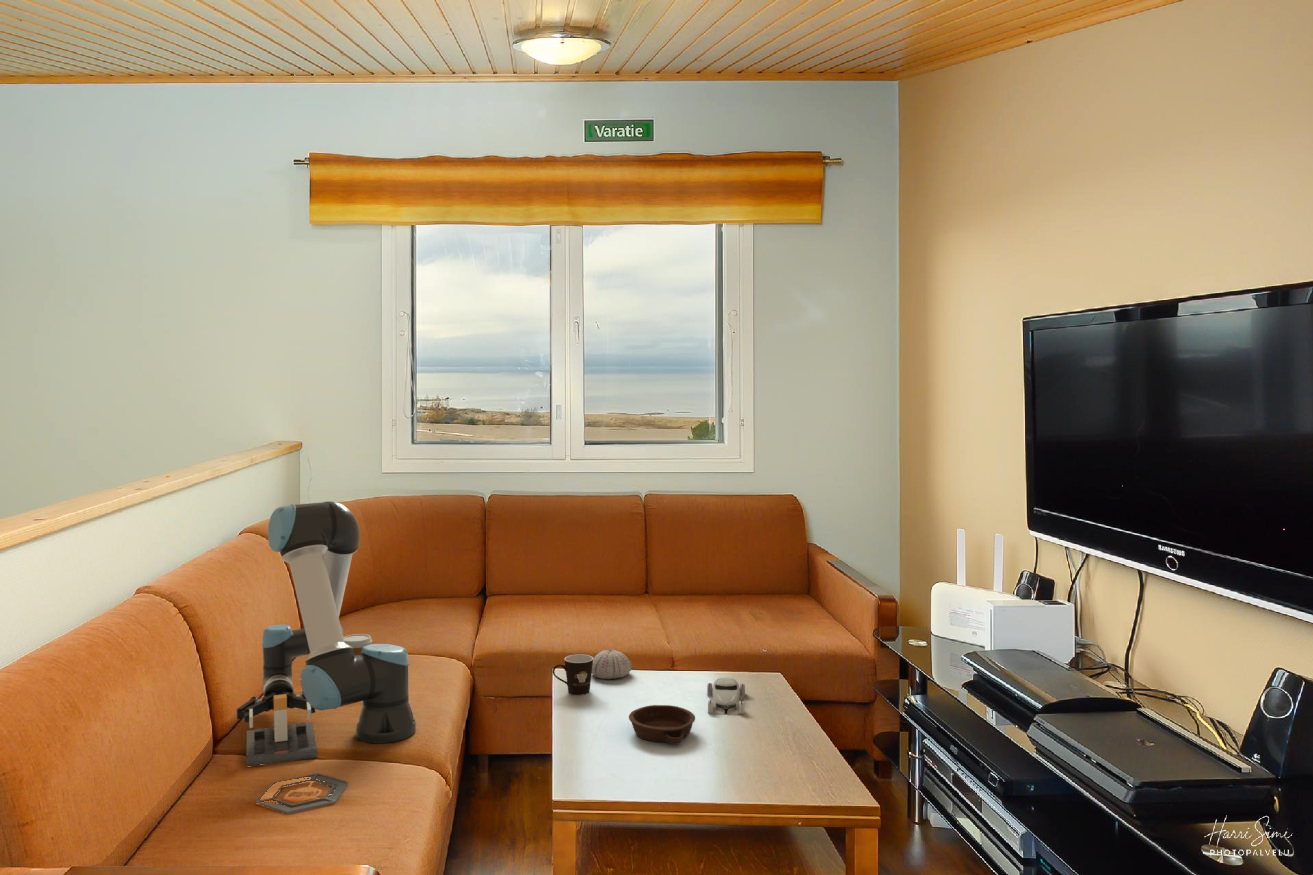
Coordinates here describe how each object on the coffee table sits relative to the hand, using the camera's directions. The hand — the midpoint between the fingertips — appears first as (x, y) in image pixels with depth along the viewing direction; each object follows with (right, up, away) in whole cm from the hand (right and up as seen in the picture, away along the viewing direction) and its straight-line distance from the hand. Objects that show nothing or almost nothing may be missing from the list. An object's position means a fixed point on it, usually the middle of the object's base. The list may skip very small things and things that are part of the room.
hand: (280, 718), depth 237 cm
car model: (+114, -7, +40) cm, 121 cm away
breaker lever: (-1, -6, +3) cm, 7 cm away
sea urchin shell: (+79, -5, +64) cm, 102 cm away
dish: (+95, -9, +14) cm, 97 cm away
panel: (-1, -8, +3) cm, 9 cm away
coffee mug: (+69, -6, +48) cm, 84 cm away
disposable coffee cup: (-1, -5, +62) cm, 63 cm away
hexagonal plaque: (+14, -11, -23) cm, 29 cm away
